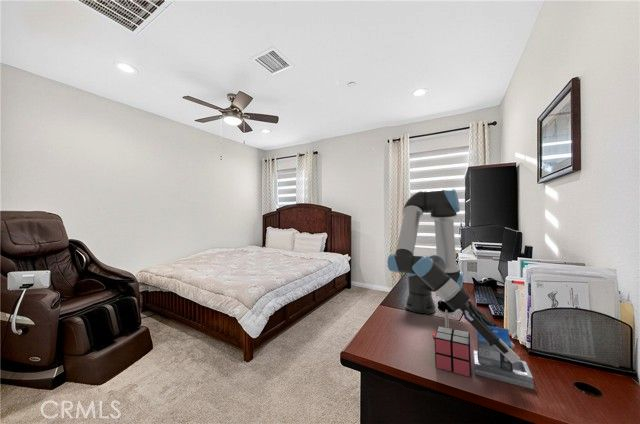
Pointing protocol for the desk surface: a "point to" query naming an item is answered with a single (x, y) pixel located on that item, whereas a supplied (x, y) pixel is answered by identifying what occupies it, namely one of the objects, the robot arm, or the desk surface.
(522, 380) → the rail tray
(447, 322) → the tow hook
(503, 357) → the label tape box
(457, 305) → the robot arm
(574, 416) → the desk surface
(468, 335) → the puzzle cube
